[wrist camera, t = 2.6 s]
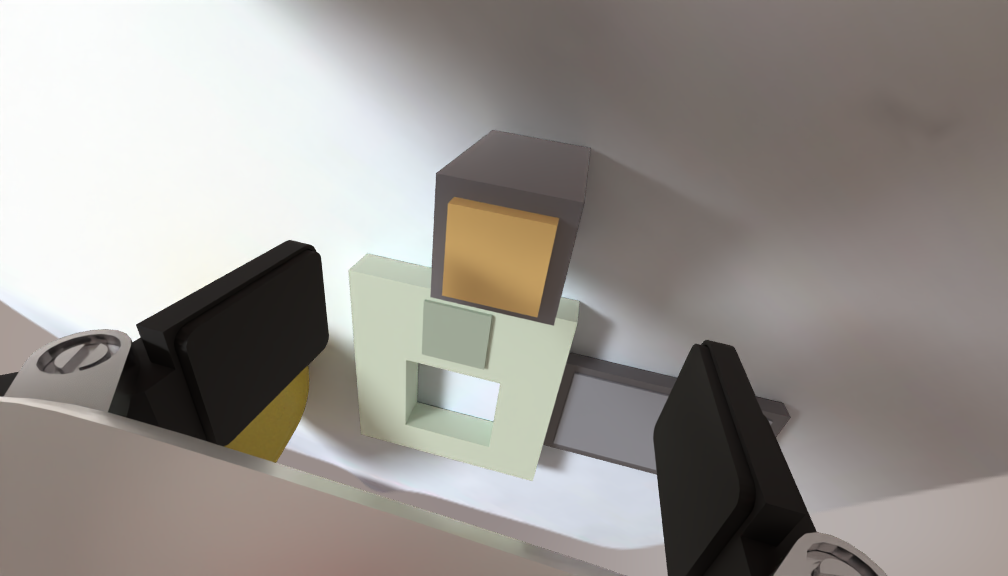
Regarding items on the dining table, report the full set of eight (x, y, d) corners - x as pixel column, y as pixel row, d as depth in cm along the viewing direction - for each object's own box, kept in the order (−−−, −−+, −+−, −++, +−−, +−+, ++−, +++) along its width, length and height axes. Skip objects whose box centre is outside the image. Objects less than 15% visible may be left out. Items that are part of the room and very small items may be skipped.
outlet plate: (367, 253, 23) (346, 271, 21) (579, 301, 22) (577, 325, 20) (374, 412, 30) (359, 436, 28) (536, 455, 29) (532, 484, 27)
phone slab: (565, 351, 24) (564, 363, 23) (783, 403, 22) (791, 418, 21) (543, 431, 27) (541, 445, 26) (729, 480, 26) (734, 496, 25)
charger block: (492, 130, 18) (428, 178, 12) (590, 147, 18) (583, 209, 11) (482, 221, 21) (424, 306, 14) (568, 239, 20) (552, 336, 13)
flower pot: (348, 381, 29) (257, 501, 21) (268, 406, 32) (165, 518, 25) (263, 278, 26) (120, 376, 18) (185, 319, 29) (37, 415, 21)
